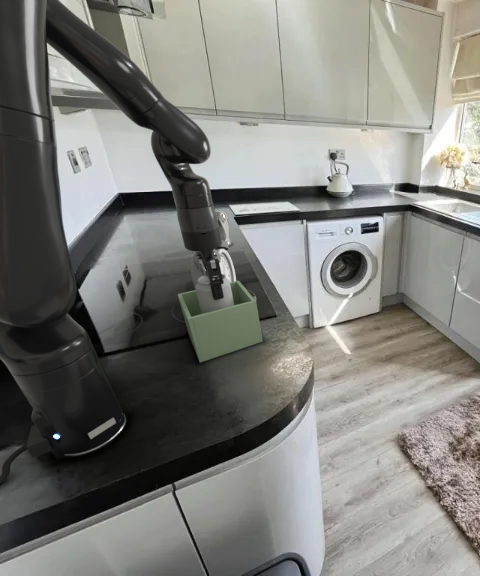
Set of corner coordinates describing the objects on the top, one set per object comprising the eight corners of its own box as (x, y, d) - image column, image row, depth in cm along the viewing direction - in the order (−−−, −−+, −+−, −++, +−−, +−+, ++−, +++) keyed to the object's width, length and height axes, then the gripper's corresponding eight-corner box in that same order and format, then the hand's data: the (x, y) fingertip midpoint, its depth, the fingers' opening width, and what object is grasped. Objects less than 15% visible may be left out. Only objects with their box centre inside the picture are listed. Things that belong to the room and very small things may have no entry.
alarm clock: (229, 312, 95) (214, 241, 86) (197, 314, 94) (179, 242, 84) (240, 288, 110) (228, 225, 100) (212, 290, 108) (198, 225, 99)
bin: (199, 362, 75) (187, 319, 70) (188, 333, 85) (177, 294, 80) (262, 341, 83) (256, 301, 78) (245, 317, 93) (238, 280, 88)
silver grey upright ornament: (233, 246, 148) (226, 213, 141) (216, 248, 145) (209, 214, 139) (232, 241, 154) (226, 210, 147) (215, 243, 151) (209, 211, 144)
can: (241, 313, 85) (233, 271, 80) (230, 329, 78) (220, 284, 73) (212, 313, 85) (202, 271, 80) (198, 328, 78) (187, 284, 73)
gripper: (175, 221, 74) (191, 285, 81) (186, 236, 64) (203, 308, 71) (211, 217, 78) (223, 278, 85) (226, 231, 68) (239, 299, 75)
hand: (214, 292), depth 78 cm, fingers closed on can, 7 cm apart
